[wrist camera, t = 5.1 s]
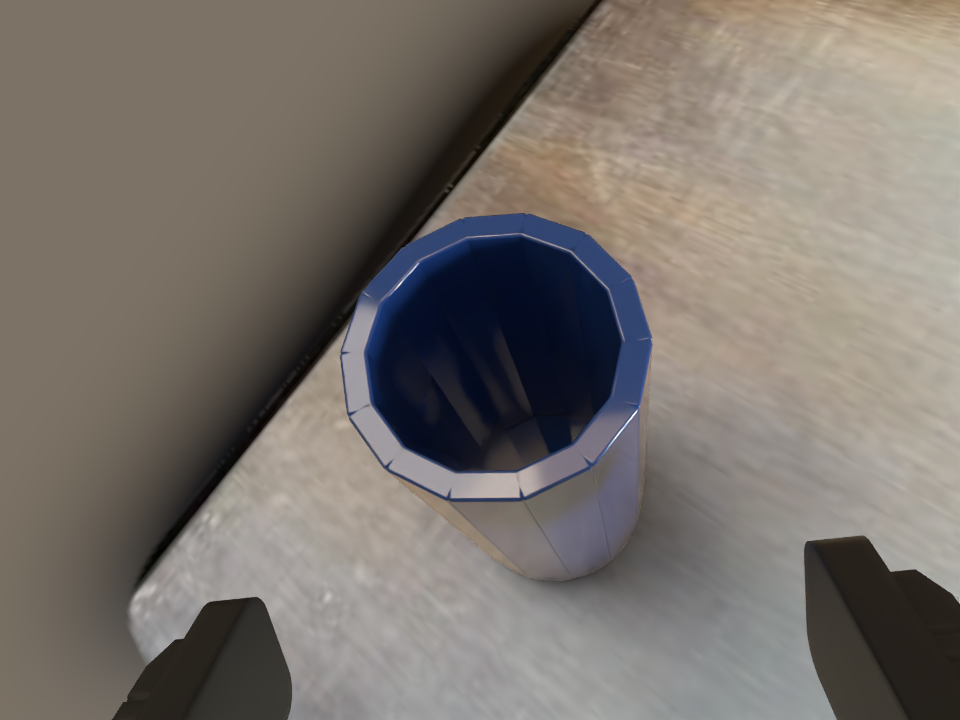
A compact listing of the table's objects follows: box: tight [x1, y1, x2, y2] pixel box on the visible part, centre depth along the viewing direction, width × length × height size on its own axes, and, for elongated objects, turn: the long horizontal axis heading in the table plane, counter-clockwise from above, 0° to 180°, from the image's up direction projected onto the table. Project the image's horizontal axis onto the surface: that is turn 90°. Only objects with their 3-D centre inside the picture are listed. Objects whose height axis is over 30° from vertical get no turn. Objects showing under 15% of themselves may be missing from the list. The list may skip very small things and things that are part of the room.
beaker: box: [340, 213, 653, 581], centre depth 16 cm, size 5×5×10 cm
